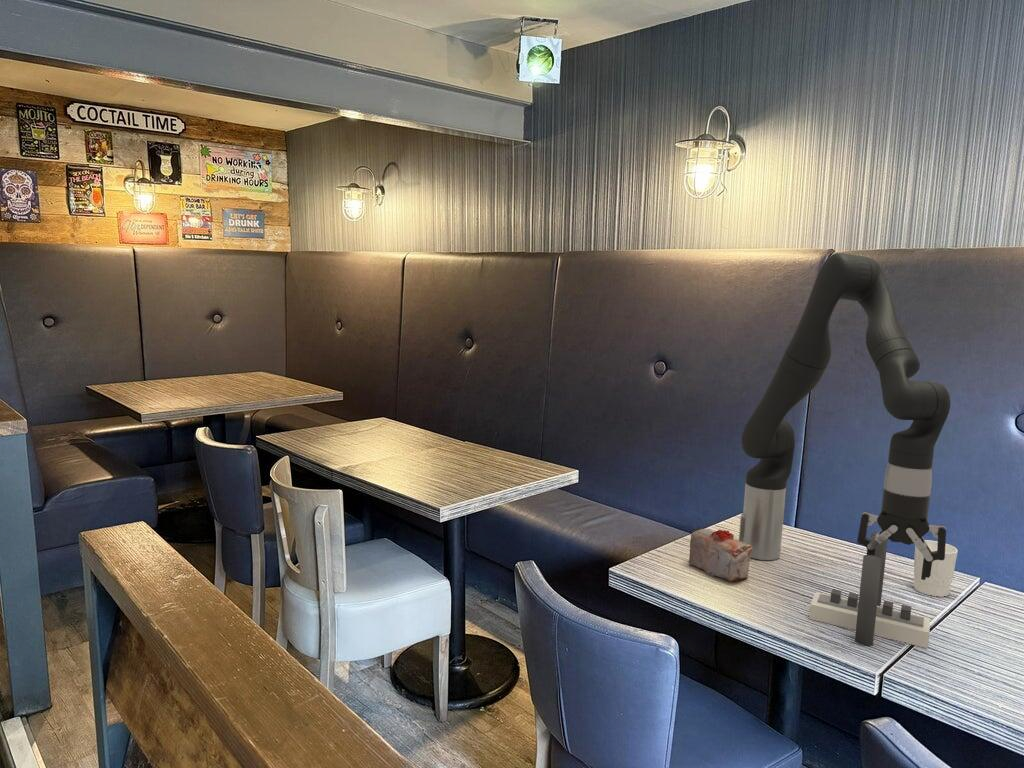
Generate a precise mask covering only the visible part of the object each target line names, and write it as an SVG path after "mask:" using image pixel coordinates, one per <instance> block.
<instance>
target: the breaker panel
mask: <svg viewBox="0 0 1024 768" xmlns="http://www.w3.org/2000/svg"><path fill="white" fill-rule="evenodd" d="M842 591H843V590H840V589H837V588H836V589H835V588H832V590H831V593H830V594H827V593H822V592H819V591H816V592H815V594H814V595H813V598H812V601H811V603H810V606H809V616H808V620H813V621H815V622H819V623H820V622H821V623H824V624H828V625H832V626H836V627H839V628H840V627H841V628H845V629H848V630H852V631H856V623H857V613H858V603H859V593H857V594H856V593H854V592H849V593H848V596H847V598H844V597H842ZM930 623H931V618H930V617H926V616H923V615H917V614H915V613H912V606H910V605H905V604H901V608H900V610H896V609H894V602H893V601H890V600H889V601H888V600H885V599H884V600H883V604H882V606H881V607H880V606H877V611H876V620H875V630H874V636H877V637H880V638H883V639H889V640H892V639H893V641H896V640H898V641H897V642H900V641H901V642H900V643H904V642H906V643H905V644H908V643H909V645H912V646H916V647H921V648H923V649H924V648H925V649H928V646H929V639H930V629H931V628H930V626H931V624H930Z"/></svg>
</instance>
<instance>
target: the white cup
mask: <svg viewBox="0 0 1024 768" xmlns="http://www.w3.org/2000/svg"><path fill="white" fill-rule="evenodd" d="M924 540H925V542H926V543H927V545H928V547H929V548H930V550H931V551H937V546H938V540H937V541H936V540H931V539H930V540H929V539H927V540H926V539H924ZM958 553H959V551H958V549H957V548H956V547H955V546H953V545H951V544H948V543H946V544H945V559H944V560H934V561H933V562H932V567H931V575H930V577H929V578H927V577H926V579H925V580H921V575H922V567H923V559H924V556H923V555H922V553H921V552H920V551H919V550H918V548H917V547H916V545H915V544H914V557H913V559H914V560H913V588H914V590H916V591H917V592H919V593H921V594H924V595H926V594H927V596H930V595H932V596H931V597H936V596H939V597H940V598H944V596H945V597H948V596H949V594H950V593H951V587H952V583H953V578H954V574H955V569H956V563H957V562H956V561H957V557H958Z"/></svg>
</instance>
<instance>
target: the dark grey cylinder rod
mask: <svg viewBox="0 0 1024 768" xmlns="http://www.w3.org/2000/svg"><path fill="white" fill-rule="evenodd" d="M878 533H879V532H876V531H874V532H871V533H870V540H871V539H872V538H873V537H875V536H876V535H877V534H878ZM888 542H889V539H888V538H887V539H886V540H885V541H883V542H882V543H880V544H879V545H878V546H877V547H876V555H875V556H877V557H880V558H881V559H882V564H881V573H880V583H879V592H878V601H877V606H880V607H882V606H881V604H882V599H883V598H882V597H883V587H884V578H885V569H886V560H887V559H886V558H887V550H888Z"/></svg>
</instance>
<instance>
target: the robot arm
mask: <svg viewBox="0 0 1024 768" xmlns="http://www.w3.org/2000/svg"><path fill="white" fill-rule="evenodd" d="M839 300H847V301H854V302H858V304H860V306H861V307H862V309H863V310H864V312H865V314H866V315H867V322H868V323H867V326H866V327H867V328H866V332H865V345H866V348H867V351H868V353H869V356H870V358H871V360H872V362H873V364H874V366H875V368H876V370H877V371H878V374H879V375H878V376H879V380H880V386H881V393H882V396H881V397H882V401H883V405H884V408H885V409H886V412H888V413H889V415H890V416H892V417H893V418H894V419H897V420H899V421H900V420H901V421H912V423H911V425H910V426H909V427H908V428H906V429H904V430H900V431H897V432H895V433H893V434H892V435H891V439H890V441H889V442H890V443H889V450H888V459H887V465H886V469H885V474H884V481H883V490H882V491H883V492H882V500H881V501H882V502H881V508H880V509H881V510H880V513H879V514H878V515H876V514H872V513H870V512H869V511H867V510H865V511H863V512H862V515H861V518H860V524H859V528H858V535H857V540H856V541H857V544H859V545H862V546H864V547H865V548H866V555H874V556H875V555H876V547H877V546H878V545H879V544H880V543H882V542H883V541H885V540H886V539H887V538H888V541H891V542H892V543H902V544H904V545H906V546H907V545H908V546H911V545H914V546H915V545H916V547H917V548H918V550H919V551H920V552H921V553H922V555H923V556H924V559H923V567H922V575H921V580H925V579H926V577H927V578H929V577H930V575H931V567H932V562H933V561H934V560H944V559H945V544H947V541H946V540H947V527H946V525H945V524H939V525H935V524H929V522H928V517H929V516H928V515H929V507H930V500H931V491H932V483H933V482H932V481H933V475H932V473H933V472H932V468H933V460H934V454H935V453H934V452H935V451H934V449H935V445H936V443H937V442H938V440H939V437H940V435H941V433H942V430H943V428H944V425H945V424H946V421H947V419H948V417H949V413H950V410H951V396H950V393H949V391H948V389H947V388H946V387H945V385H944V384H942V383H940V382H938V381H929V380H928V381H925V380H922V381H920V380H916V381H915V380H914V381H912V380H910V379H911V378H912V377H914V376H915V375H916V374H917V373H918V372H919V370H920V367H921V363H920V360H919V357H918V356H917V353H916V351H915V349H914V347H913V346H912V345H911V342H910V341H909V339H908V337H907V335H906V334H905V331H904V329H903V328H902V325H901V322H900V321H899V318H898V315H897V312H896V309H895V305H894V302H893V298H892V296H891V293H890V290H889V286H888V283H887V278H886V277H885V274H884V271H883V269H882V267H881V266H880V264H879V262H878V261H876V260H875V259H874V258H871V257H867V256H862V255H859V254H858V255H857V254H852V253H843V252H836V253H833V254H831V255H829V256H828V257H827V258H826V259H825V260H824V262H823V263H822V265H821V267H820V269H819V271H818V273H817V275H816V278H815V280H814V284H813V286H812V289H811V292H810V294H809V297H808V301H807V303H806V304H805V305H806V306H805V307H804V308H805V309H804V311H803V313H802V315H801V318H800V320H799V322H798V325H797V327H796V329H795V330H794V333H793V336H792V337H791V339H790V341H789V343H788V344H787V347H786V349H785V351H784V353H783V354H782V356H781V359H780V361H779V363H778V366H777V368H776V371H775V372H774V374H773V377H772V378H771V380H770V382H769V384H768V387H767V388H766V390H765V392H764V394H763V396H762V397H761V399H760V401H759V403H758V404H757V405H756V407H755V409H754V410H753V412H752V413H751V416H750V417H749V419H748V420H747V422H746V423H745V424H744V427H743V430H742V434H741V441H740V442H741V448H742V450H743V452H744V453H745V454H746V455H747V456H749V457H751V458H753V459H760V460H759V461H758V462H757V464H756V465H754V466H753V467H750V468H749V469H748V470H747V471H746V474H745V485H744V498H743V512H742V513H741V515H740V519H739V520H740V521H739V530H738V531H739V534H738V541H740V542H743V543H746V544H749V545H752V552H751V556H750V559H754V560H755V559H756V560H760V561H776V560H778V559H780V557H781V551H782V541H783V540H782V539H783V528H784V526H783V525H784V516H785V507H786V506H785V503H786V491H787V483H788V480H789V479H790V476H791V474H792V466H793V463H794V462H793V460H794V454H795V446H796V445H795V444H796V436H795V432H794V428H793V425H791V423H790V422H789V421H788V420H785V419H784V418H785V416H787V414H788V413H789V412H790V410H792V409H793V408H794V407H795V406H796V405H797V404H798V403H800V402H801V401H802V400H803V399H804V398H806V396H808V395H809V394H810V393H811V392H812V390H814V388H816V386H817V385H818V384H819V382H820V380H821V379H822V377H823V375H824V373H825V371H826V369H827V368H828V365H829V363H830V360H831V357H832V346H831V345H832V344H831V337H830V330H829V327H830V325H829V324H830V321H831V317H832V314H833V312H834V310H835V308H836V306H837V304H838V302H839ZM874 522H877V524H878V525H879V528H880V529H881V530H879V532H878V534H877V535H876V536H875V537H873V538H872V539H871V538H868V537H867V532H868V527H869V526H870V527H871V526H873V523H874ZM929 532H931V533H932V536H933V538H936V539H937V542H938V546H937V551H931V550H930V548H929V547H928V545H927V543H926V542H925V540H926V539H924V536H925V535H927V533H929Z"/></svg>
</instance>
